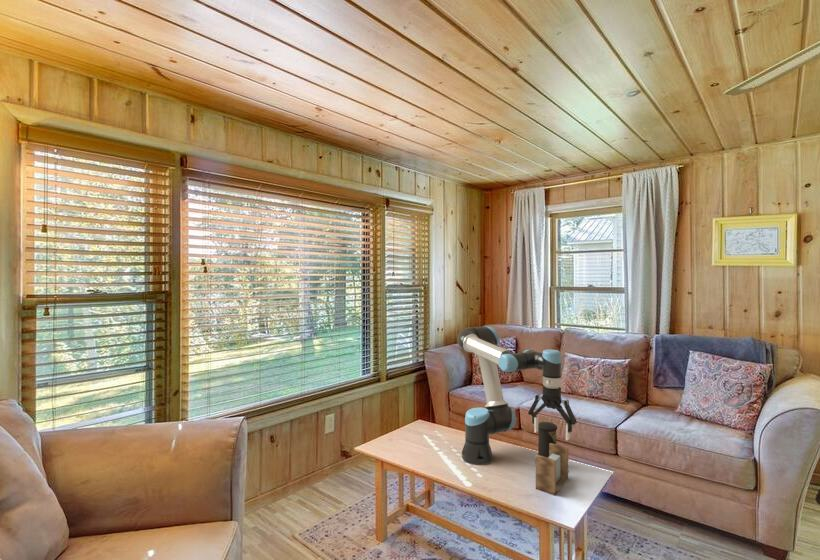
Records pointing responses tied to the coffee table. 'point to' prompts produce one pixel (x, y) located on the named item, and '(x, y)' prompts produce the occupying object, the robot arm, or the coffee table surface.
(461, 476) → the coffee table surface
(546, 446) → the container
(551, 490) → the brown cabinet body
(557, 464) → the door slab
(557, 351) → the robot arm
